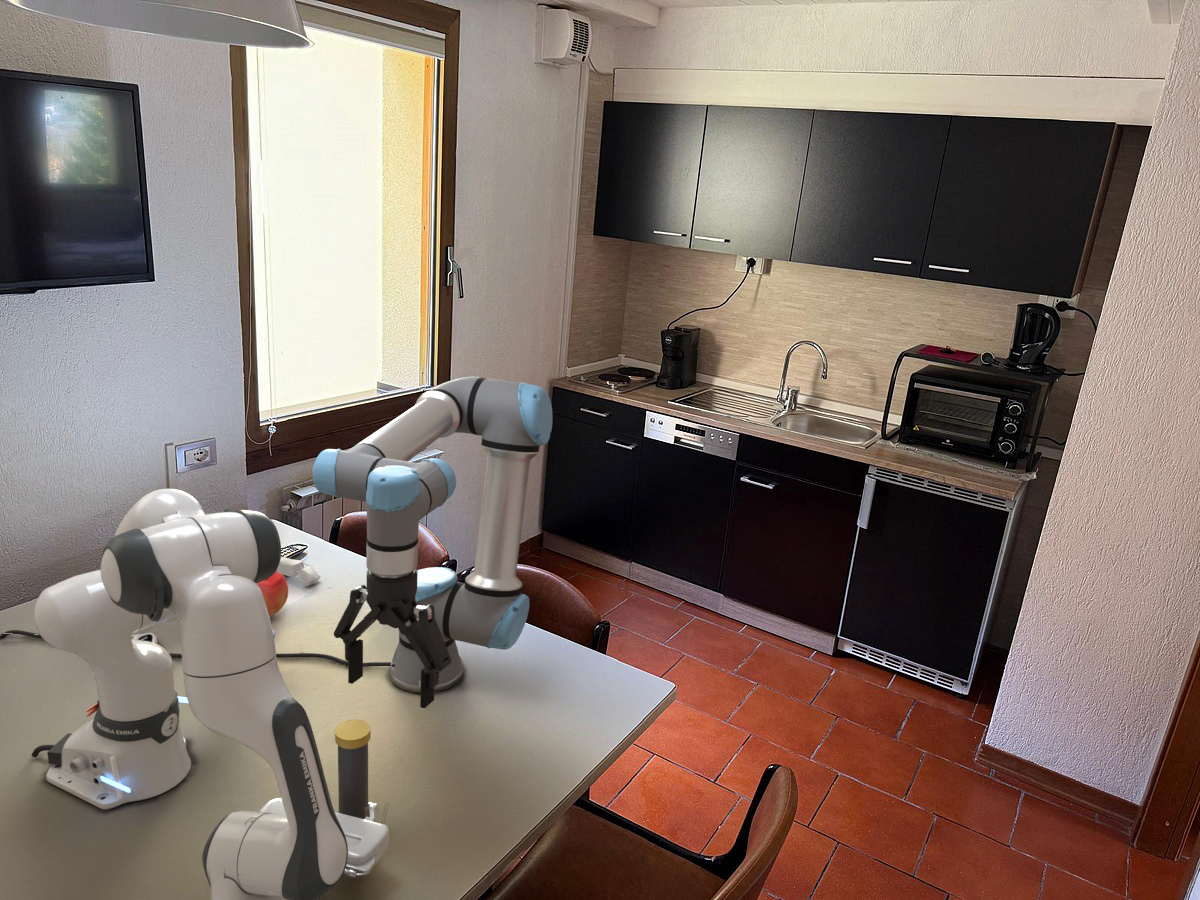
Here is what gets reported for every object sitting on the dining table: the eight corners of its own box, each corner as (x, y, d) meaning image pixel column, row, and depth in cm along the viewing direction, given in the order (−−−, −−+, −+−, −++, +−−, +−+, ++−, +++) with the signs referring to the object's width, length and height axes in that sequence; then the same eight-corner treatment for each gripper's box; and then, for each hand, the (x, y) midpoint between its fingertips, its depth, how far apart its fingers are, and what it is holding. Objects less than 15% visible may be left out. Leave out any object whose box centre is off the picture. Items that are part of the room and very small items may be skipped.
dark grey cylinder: (357, 811, 142) (356, 719, 137) (374, 825, 139) (374, 732, 134) (333, 826, 138) (331, 731, 133) (350, 840, 136) (349, 744, 130)
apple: (273, 600, 207) (272, 562, 204) (297, 613, 202) (296, 575, 199) (237, 614, 200) (234, 575, 197) (261, 628, 194) (259, 588, 191)
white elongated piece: (253, 565, 223) (254, 542, 221) (265, 560, 226) (266, 537, 224) (309, 593, 215) (310, 569, 213) (320, 588, 218) (321, 564, 216)
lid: (357, 723, 137) (357, 715, 137) (377, 738, 134) (377, 729, 134) (328, 738, 133) (328, 729, 133) (348, 753, 130) (348, 744, 130)
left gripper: (364, 862, 119) (408, 797, 132) (235, 827, 124) (290, 768, 136) (364, 898, 121) (407, 831, 134) (237, 863, 125) (291, 801, 138)
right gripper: (476, 578, 128) (471, 702, 134) (341, 541, 137) (342, 659, 143) (449, 598, 121) (445, 727, 127) (309, 558, 130) (311, 680, 136)
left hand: (347, 799), depth 135 cm, fingers open, 8 cm apart
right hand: (390, 691), depth 135 cm, fingers open, 13 cm apart
